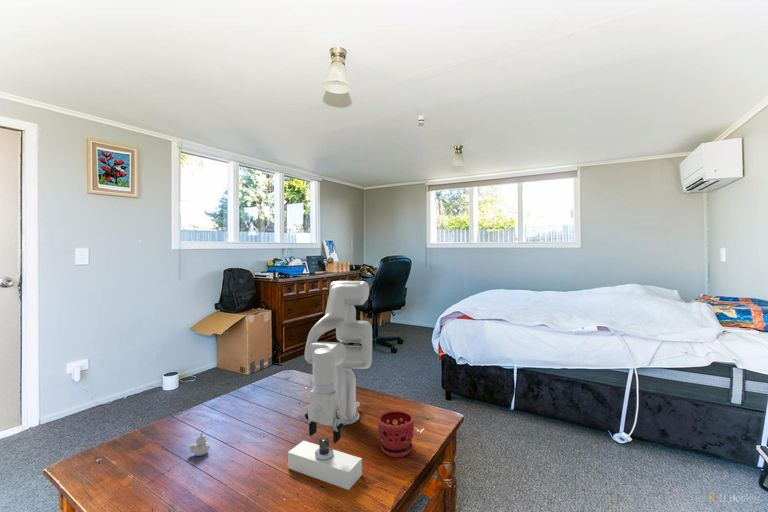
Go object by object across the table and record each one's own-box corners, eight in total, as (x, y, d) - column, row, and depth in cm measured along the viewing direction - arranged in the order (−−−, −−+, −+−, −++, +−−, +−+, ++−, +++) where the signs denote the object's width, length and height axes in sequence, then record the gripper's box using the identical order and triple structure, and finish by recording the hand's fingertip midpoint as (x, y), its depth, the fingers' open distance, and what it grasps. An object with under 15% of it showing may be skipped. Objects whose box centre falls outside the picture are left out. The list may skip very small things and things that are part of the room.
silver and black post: (322, 462, 118) (322, 433, 118) (336, 467, 115) (336, 437, 115) (311, 472, 112) (311, 442, 112) (326, 478, 110) (326, 447, 110)
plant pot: (417, 443, 130) (417, 412, 130) (408, 463, 118) (408, 428, 118) (384, 437, 135) (384, 407, 135) (372, 456, 122) (372, 422, 122)
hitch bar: (303, 455, 123) (303, 440, 123) (361, 474, 112) (361, 458, 112) (287, 468, 116) (287, 452, 116) (348, 490, 105) (348, 472, 105)
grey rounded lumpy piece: (207, 457, 122) (207, 435, 122) (186, 460, 120) (186, 437, 120) (211, 449, 127) (211, 427, 127) (191, 451, 125) (191, 429, 125)
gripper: (296, 386, 114) (296, 436, 115) (339, 396, 106) (340, 450, 107) (310, 378, 121) (311, 426, 121) (352, 387, 113) (352, 438, 114)
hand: (324, 437), depth 114 cm, fingers open, 9 cm apart
